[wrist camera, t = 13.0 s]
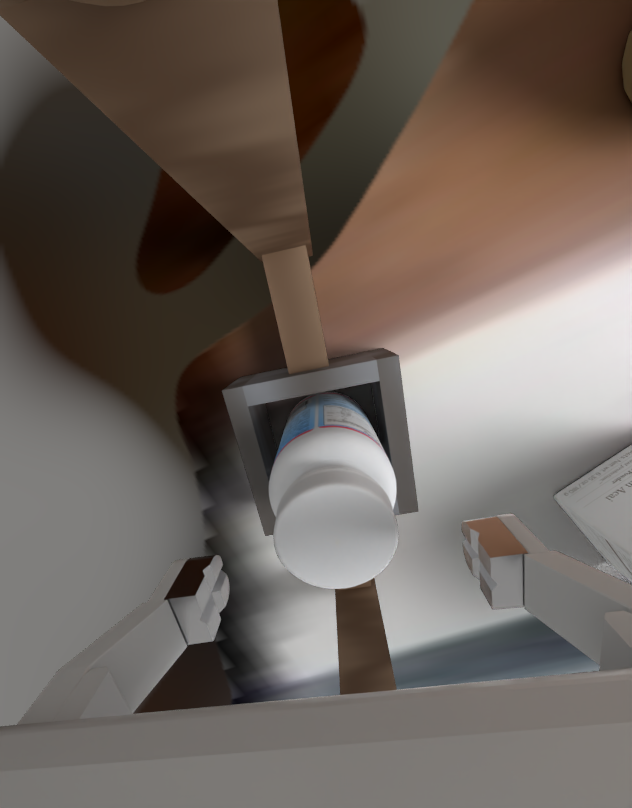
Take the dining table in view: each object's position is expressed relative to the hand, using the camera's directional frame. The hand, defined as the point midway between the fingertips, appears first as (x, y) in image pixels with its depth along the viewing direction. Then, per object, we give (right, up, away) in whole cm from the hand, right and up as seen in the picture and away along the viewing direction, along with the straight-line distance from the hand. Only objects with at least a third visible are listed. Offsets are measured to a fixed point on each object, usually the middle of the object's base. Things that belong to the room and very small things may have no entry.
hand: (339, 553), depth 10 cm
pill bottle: (0, +3, +12) cm, 12 cm away
